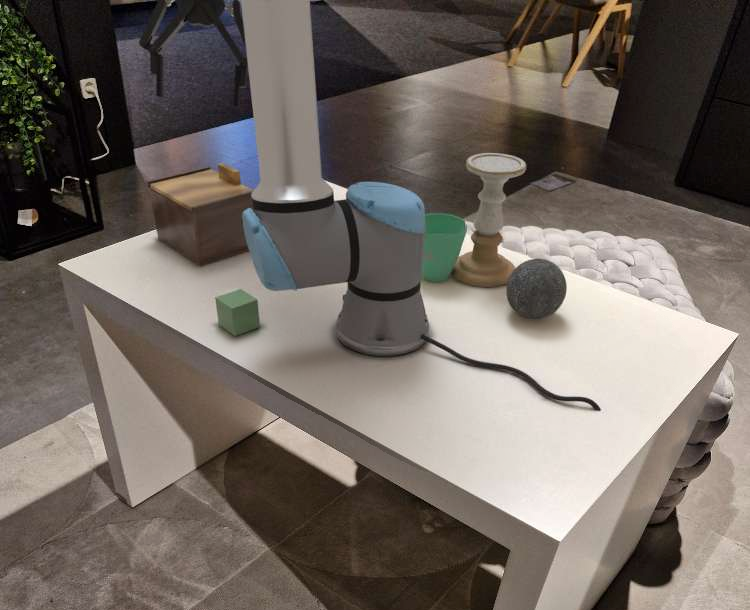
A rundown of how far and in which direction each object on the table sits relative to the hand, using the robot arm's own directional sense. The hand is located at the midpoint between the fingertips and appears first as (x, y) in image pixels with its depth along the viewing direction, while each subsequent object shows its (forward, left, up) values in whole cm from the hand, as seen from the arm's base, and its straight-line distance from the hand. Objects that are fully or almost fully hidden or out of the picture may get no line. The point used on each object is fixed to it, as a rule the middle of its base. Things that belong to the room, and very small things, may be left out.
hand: (198, 102), depth 134 cm
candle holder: (-46, -30, -25) cm, 60 cm away
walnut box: (-2, +3, -25) cm, 25 cm away
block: (-34, +17, -25) cm, 45 cm away
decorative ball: (-63, -24, -25) cm, 72 cm away
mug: (-39, -22, -25) cm, 51 cm away
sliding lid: (-2, +3, -15) cm, 15 cm away
